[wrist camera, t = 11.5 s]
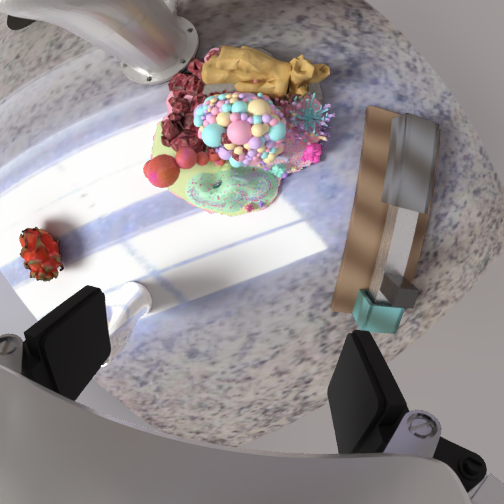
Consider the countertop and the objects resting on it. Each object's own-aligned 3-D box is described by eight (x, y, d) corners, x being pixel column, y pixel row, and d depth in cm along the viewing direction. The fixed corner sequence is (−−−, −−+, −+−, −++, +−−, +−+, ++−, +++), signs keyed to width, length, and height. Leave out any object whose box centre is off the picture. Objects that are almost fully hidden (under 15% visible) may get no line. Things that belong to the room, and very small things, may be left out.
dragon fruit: (76, 273, 45) (46, 228, 45) (72, 253, 39) (41, 203, 39) (43, 299, 40) (14, 250, 40) (33, 283, 33) (4, 228, 33)
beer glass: (156, 284, 43) (111, 333, 28) (153, 321, 45) (114, 376, 30) (118, 274, 43) (65, 315, 28) (118, 310, 45) (72, 357, 30)
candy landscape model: (183, 41, 32) (162, 15, 24) (341, 70, 33) (359, 46, 24) (144, 198, 40) (113, 206, 31) (301, 234, 40) (310, 253, 31)
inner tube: (393, 178, 34) (422, 181, 26) (412, 183, 34) (444, 188, 26) (363, 307, 39) (381, 337, 31) (382, 309, 39) (402, 338, 31)
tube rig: (366, 107, 33) (383, 96, 27) (435, 130, 33) (460, 126, 27) (330, 306, 42) (339, 329, 35) (397, 313, 42) (413, 334, 35)
